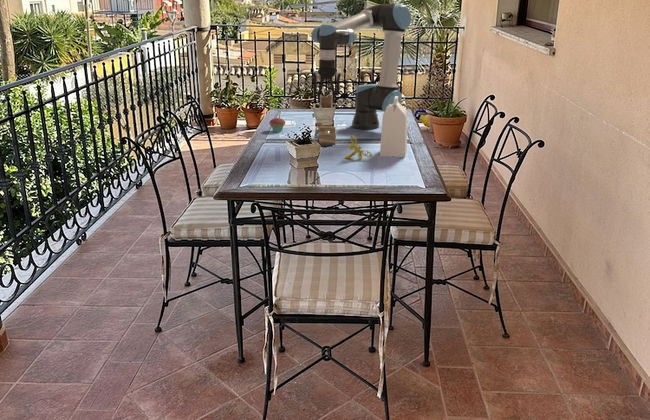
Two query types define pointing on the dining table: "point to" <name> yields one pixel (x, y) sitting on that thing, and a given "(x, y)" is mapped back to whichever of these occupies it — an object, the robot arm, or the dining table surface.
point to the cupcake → (277, 123)
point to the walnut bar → (326, 101)
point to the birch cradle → (327, 135)
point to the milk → (394, 130)
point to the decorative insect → (356, 149)
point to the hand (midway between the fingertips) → (326, 108)
